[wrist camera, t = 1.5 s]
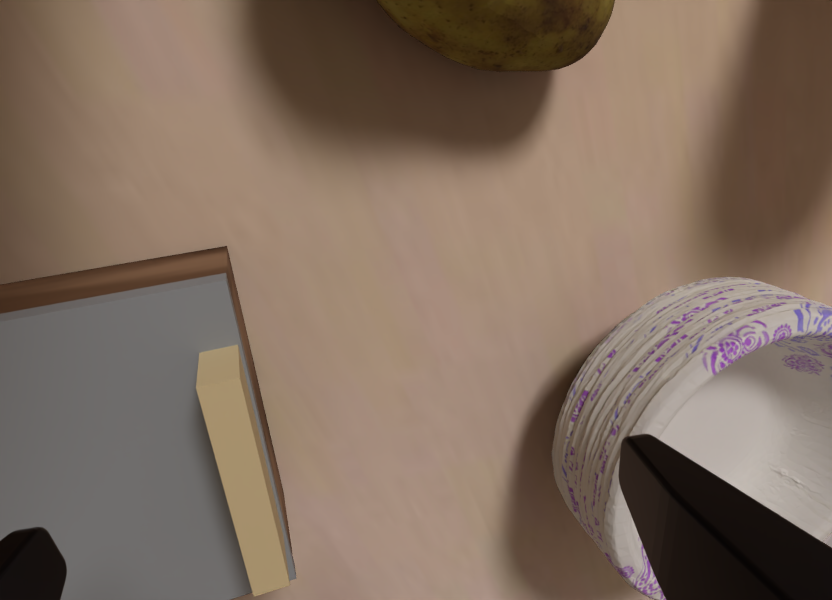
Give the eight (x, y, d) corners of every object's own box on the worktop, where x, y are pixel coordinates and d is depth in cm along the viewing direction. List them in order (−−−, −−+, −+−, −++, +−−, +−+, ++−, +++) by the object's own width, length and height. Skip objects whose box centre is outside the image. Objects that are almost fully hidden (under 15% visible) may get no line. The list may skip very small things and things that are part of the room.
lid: (294, 563, 23) (303, 630, 20) (-116, 690, 20) (-174, 793, 17) (226, 272, 18) (226, 306, 16) (-326, 373, 15) (-455, 439, 12)
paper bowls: (514, 530, 32) (596, 654, 25) (531, 271, 27) (641, 336, 20) (731, 477, 37) (853, 570, 29) (781, 244, 31) (946, 290, 24)
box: (283, 492, 27) (292, 554, 23) (-62, 588, 23) (-114, 678, 20) (226, 246, 22) (227, 275, 19) (-210, 320, 19) (-311, 374, 15)
